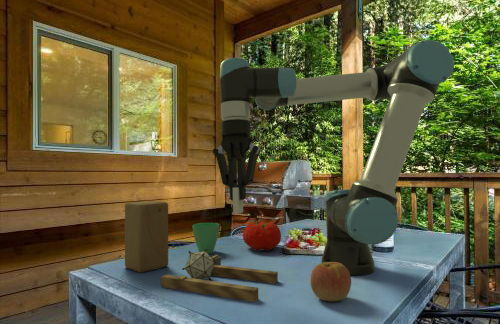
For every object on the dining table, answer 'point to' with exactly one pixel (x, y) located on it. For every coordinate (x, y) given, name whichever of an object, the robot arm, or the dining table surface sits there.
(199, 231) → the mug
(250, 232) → the tomato
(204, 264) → the game die
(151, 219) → the wooden block
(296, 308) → the dining table surface
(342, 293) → the apple
